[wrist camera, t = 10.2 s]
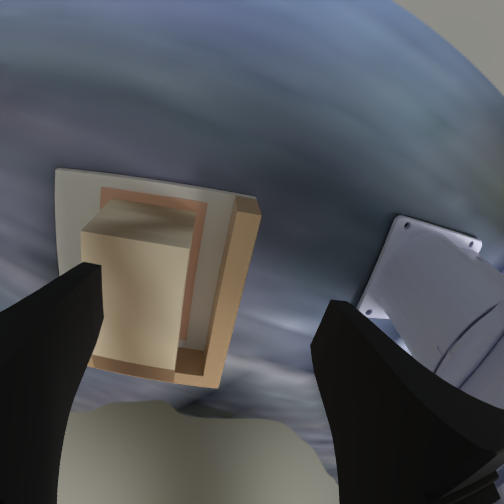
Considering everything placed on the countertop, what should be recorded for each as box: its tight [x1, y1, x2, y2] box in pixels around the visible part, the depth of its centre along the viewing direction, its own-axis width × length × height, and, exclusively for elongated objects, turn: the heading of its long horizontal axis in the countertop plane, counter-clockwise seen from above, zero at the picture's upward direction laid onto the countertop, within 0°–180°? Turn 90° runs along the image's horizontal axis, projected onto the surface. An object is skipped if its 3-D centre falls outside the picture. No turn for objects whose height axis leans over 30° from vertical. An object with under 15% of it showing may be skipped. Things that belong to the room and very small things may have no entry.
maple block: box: [80, 199, 197, 383], centre depth 17 cm, size 5×9×4 cm, turn 167°
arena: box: [55, 168, 262, 388], centre depth 18 cm, size 12×13×3 cm
